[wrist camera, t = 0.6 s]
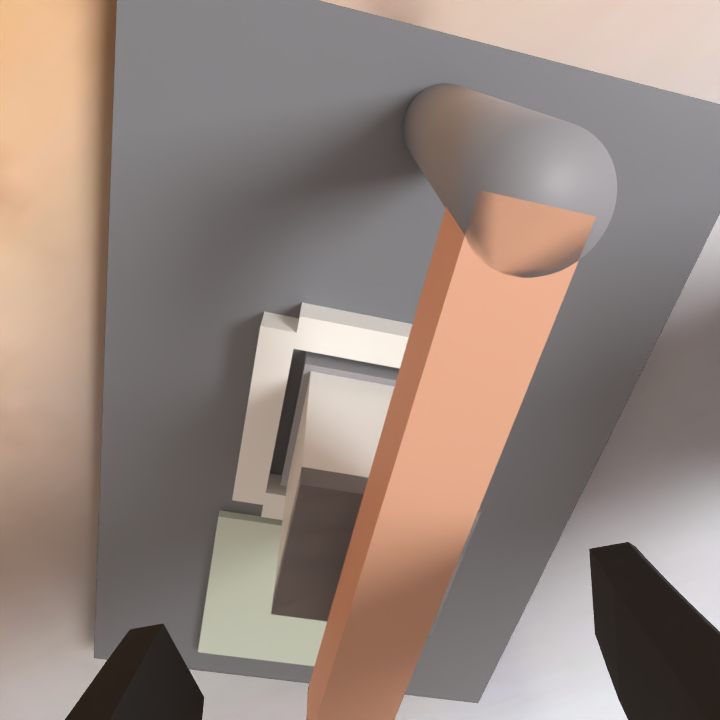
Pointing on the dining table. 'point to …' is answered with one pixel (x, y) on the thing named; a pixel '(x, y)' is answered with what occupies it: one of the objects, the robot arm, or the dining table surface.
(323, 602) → the plug
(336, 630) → the retention clip
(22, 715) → the dining table surface
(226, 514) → the fixture base plate
